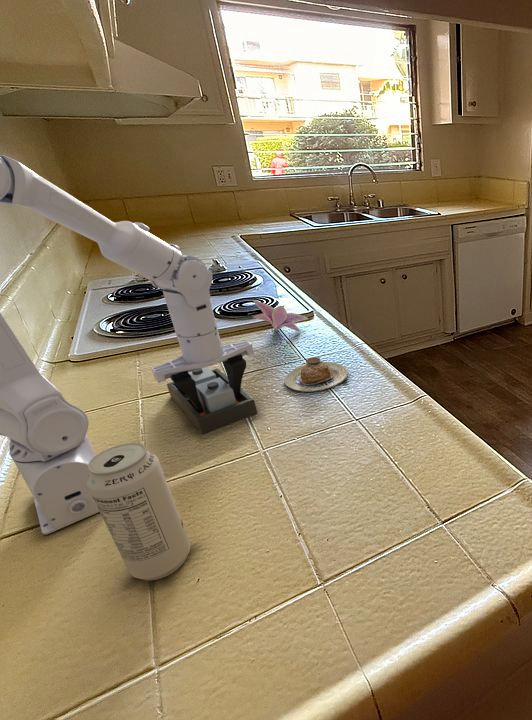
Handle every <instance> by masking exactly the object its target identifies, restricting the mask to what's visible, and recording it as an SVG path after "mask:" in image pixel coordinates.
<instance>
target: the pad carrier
mask: <svg viewBox="0 0 532 720" xmlns="http://www.w3.org/2000/svg"><path fill="white" fill-rule="evenodd" d="M210 370H211V371H212V372H213V373H214V374H215V375H216V377H217V378H221V379H222V380H223V381H224V382H225V383H226V384H227V385H228V386H229V381H228V377H227V374H226V373H225V372H223V371H222V370H221V369H220V368H218V367H217V368H214V369H210ZM166 386H167V389H168V393H169V395H170V398H171V399H172V400H173V402H174V403H175V404H176V405H177V407H179V409H180V410H181V411H182V412H183V413H184V415H185V416H186V417H187V419H189V421H190V422H191V423H192V424H193V425H194V426H195V428H196V429H197V430H198V431H199V432H200V433H201V435H202V436H204V435H207V434H209V433H211V432H214V431H216V430H220V429H221V428H224V427H227V426H229V425H232V424H234V423H237V422H239V421H242V420H244V419H247V418H250V417H252V416H255V415H257V414H258V409H257V405H256V402H255V399H254V398H253V397H252V396H251V395H249V394H248V393H247V392H246V391H245V390H244V389H243V388H241V399H238V400H236V399H235V400H236V404H234V405H231V406H228V407H226V408H223V409H220V410H218V411H215V412H212V413H209V414H207V415H206V414H205V413H204V412H202V413H198V412H197V411H196V410H195V408H194V406H193V404H192V402H191V400H190V399H189V398H188V396H187V395H186V394H185V392H184V391H183V390H182V389H180V388H179V387H178V386H177V385H176V384H175V383H174V382H173V381H172V382H169V383H166ZM229 387H230V386H229Z"/></svg>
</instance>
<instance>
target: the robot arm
mask: <svg viewBox="0 0 532 720" xmlns="http://www.w3.org/2000/svg"><path fill="white" fill-rule="evenodd" d="M0 204H5V205H12V206H18V207H19V206H20V207H22V208H25V209H26V210H30V211H32V212H33V213H35V214H37V215H39V216H42V217H44V218H46V219H48V220H49V221H52V222H54V223H56V224H58V225H60V226H62V227H65V228H67V229H69V230H71V231H73V232H74V233H77V234H79V235H81V236H83V237H85V238H87V239H89V240H91V241H93V242H95V243H96V244H97V245H98V248H99V250H100V253H101V255H102V257H104V258H105V259H107V260H109V261H111V262H113V263H114V264H117V265H119V266H121V267H123V268H125V269H127V270H129V271H130V272H132V273H135V274H136V275H139V276H140V277H143V278H145V279H147V280H148V281H149V282H150V284H151V285H152V286H153V287H154V288H156V289H161V290H162V293H163V297H164V300H165V304H166V307H167V310H168V313H169V316H170V319H171V323H172V326H173V329H174V332H175V335H176V339H177V342H178V345H179V348H180V351H181V354H182V356H179V357H177V358H175V359H172V360H170V361H167V362H165V363H163V364H160V365H157V366H154V367H151V372H152V375H153V378H154V380H155V381H156V382H157V383H158V384H161V383H164V382H166V380H168V379H170V380H171V381H172V382H174V383H175V384H176V385H177V386H178V387H179V388H180V389H182V390H183V391H184V392H185V394H186V395H187V396H188V398H189V399H190V400H191V402H192V404H193V406H194V408H195V410H196V411H197V412H198V413H202V412H204V411H203V407H202V405H201V402H200V400H199V397H198V394H197V389H196V384H195V381H194V380H193V379H192V377H191V375H190V374H189V373H188V372H191V371H194V370H198V369H201V368H204V367H208V368H209V367H212V366H215V365H217V364H221V363H222V366H223V368H224V371H225V375H226V376H227V377H228V381H229V386H230V387H231V388H232V389H233V393H234V396H235V399H236V400H238V399H241V389H242V382H243V377H244V375H245V374H244V373H245V372H246V371H245V370H246V368H247V360H246V359H245V358H244V356H249V357H250V356H252V355H255V351H254V347H253V344H252V343H251V342H250V341H248V340H245V341H241V342H235V343H231V344H224V345H223V343H222V339H221V335H220V333H219V329H218V325H217V322H216V317H215V314H214V309H213V307H212V306H213V305H212V302H211V298H212V297H211V293H210V292H211V291H210V288H211V286H212V283H213V278H214V277H213V271H212V270H209V269H208V266H206V264H205V262H204V261H203V260H201V259H200V258H198V257H196V256H193V255H187V254H182V252H181V250H180V246H178V245H176V244H174V243H167V242H166V241H164V240H162V239H160V238H159V237H157V236H156V235H154V234H152V233H150V232H149V231H150V227H149V226H148V225H146V224H144V223H143V222H139V221H138V222H137V221H135V222H132V221H130V220H120V221H116V222H115V221H112V220H111V219H109V218H107V217H106V216H104V215H103V214H101V213H99V212H98V211H96V210H94V209H93V208H92V207H90V206H89V205H87V204H86V203H83V202H82V201H81V200H79V199H77V198H76V197H74V196H73V195H71V194H69V193H68V192H66V191H65V190H63V189H62V188H60V187H58V186H57V185H56V184H54V183H52V182H50V181H49V180H47V179H46V178H45V177H42V176H41V175H39V174H38V173H37V172H34V171H33V170H31V169H30V168H28V167H27V166H26V165H24V164H23V163H21V162H19V161H18V160H16V159H14V158H12V157H9V156H7V155H5V154H0ZM87 415H88V414H86V412H85V411H84V410H83V409H82V408H80V407H79V406H77V405H75V404H72V403H71V402H69V401H68V400H67V399H66V398H65V396H64V395H63V394H62V392H61V391H60V390H59V389H58V388H57V387H56V386H55V385H54V384H53V383H51V382H50V380H48V379H47V378H46V377H45V376H44V375H43V374H42V373H41V372H40V371H39V370H38V368H37V366H36V364H34V362H33V360H32V359H31V357H30V355H29V354H28V353H27V351H26V349H25V347H23V345H22V343H21V342H20V340H19V339H18V336H17V335H16V334H15V332H14V331H13V329H12V328H11V326H10V325H9V323H8V322H7V320H6V319H5V317H4V316H3V314H2V313H1V312H0V436H3V437H7V438H8V439H9V441H10V442H9V448H8V449H9V452H8V453H9V455H10V458H11V459H12V461H13V462H14V465H15V466H16V468H17V470H18V471H19V473H20V475H21V477H22V479H23V480H24V483H25V484H26V486H27V488H28V489H29V491H30V493H31V495H32V496H33V497H32V498H33V502H34V506H35V510H36V514H37V518H38V522H39V527H40V530H41V534H42V535H49V534H51V533H54V532H57V531H58V530H61V529H63V528H65V527H68V526H70V525H72V524H74V523H76V522H79V521H81V520H84V519H86V518H88V517H90V516H93V515H96V514H98V513H100V511H99V509H98V507H97V505H96V503H95V501H94V499H93V497H92V495H91V493H90V491H89V489H88V486H87V484H86V483H87V477H88V474H89V470H88V464H89V462H90V461H91V459H93V458H94V457H95V456H96V455H97V454H96V452H95V450H94V448H93V447H94V446H93V445H92V444H91V441H90V438H89V437H88V434H87V433H88V431H89V418H88V416H87Z"/></svg>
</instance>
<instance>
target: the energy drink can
mask: <svg viewBox="0 0 532 720" xmlns="http://www.w3.org/2000/svg"><path fill="white" fill-rule="evenodd" d="M88 470H89V474H88V477H87V483H86V484H87V486H88V489H89V491H90V493H91V495H92V497H93V499H94V501H95V503H96V505H97V507H98V509H99V511H100V512H99V513H100V515H101V517H102V519H103V521H104V524H105V526H106V527H107V530H108V531H109V534H110V536H111V538H112V540H113V542H114V544H115V546H116V549H117V551H118V553H119V554H120V556H121V559H122V560H123V562H124V565H125V566H126V568H127V571H128V573H129V574H130V576H131V577H133V578H135V579H140V580H143V581H148V582H149V581H156V580H160V579H163V578H165V577H168V576H170V575H171V574H173V573H175V572H176V571H177V570H178V569H180V568H181V567H182V566H183V564H184V563H185V562H186V560H187V557H188V555H189V554H190V552H191V551H190V550H191V541H190V539H189V536H188V533H187V531H186V528H185V526H184V525H185V524H184V523H183V519H182V518H181V515H180V512H179V509H178V507H177V504H176V502H175V499H174V497H173V494H172V491H171V489H170V486H169V484H168V481H167V479H166V476H165V473H164V471H163V468H162V465H161V463H160V460H159V458H158V457H157V455H155V454H154V453H152V452H151V451H149V450H147V447H146V446H145V445H144V444H142V443H140V442H127V443H122V444H118V445H115V446H111V447H109V448H107V449H105V450H103V451H101V452H99V453H97V454H96V456H95V457H94V458H93V459H91V461H90V462H89V464H88Z"/></svg>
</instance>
